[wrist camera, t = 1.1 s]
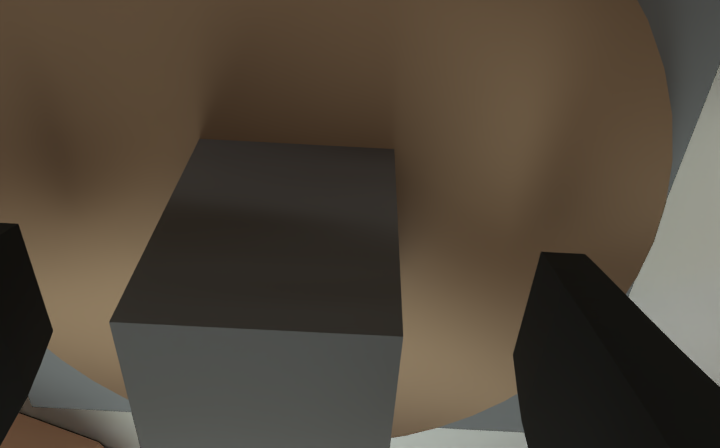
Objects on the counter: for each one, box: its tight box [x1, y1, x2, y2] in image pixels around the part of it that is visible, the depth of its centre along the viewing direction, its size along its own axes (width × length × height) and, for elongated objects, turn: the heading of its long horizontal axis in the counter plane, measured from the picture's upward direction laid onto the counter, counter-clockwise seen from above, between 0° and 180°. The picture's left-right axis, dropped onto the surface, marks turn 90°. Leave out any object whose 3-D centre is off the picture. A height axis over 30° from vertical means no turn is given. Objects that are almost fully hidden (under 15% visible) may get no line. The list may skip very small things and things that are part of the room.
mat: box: [28, 0, 720, 432], centre depth 12 cm, size 13×13×1 cm
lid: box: [0, 0, 672, 448], centre depth 9 cm, size 12×12×5 cm
